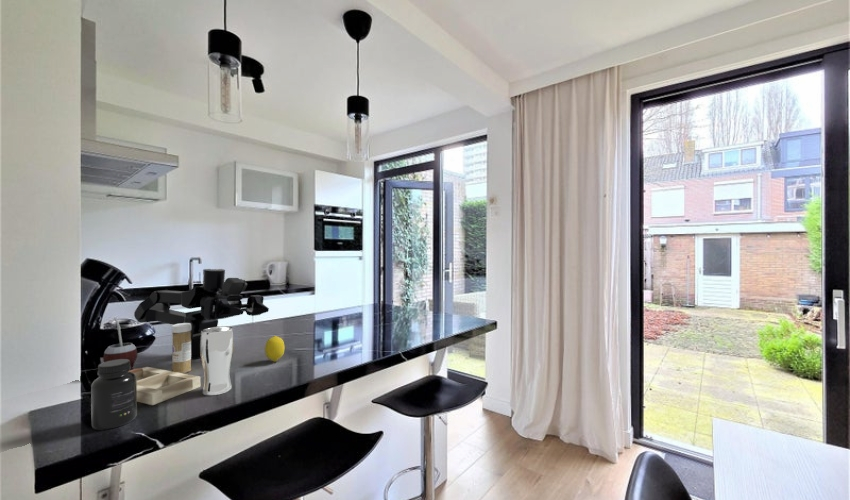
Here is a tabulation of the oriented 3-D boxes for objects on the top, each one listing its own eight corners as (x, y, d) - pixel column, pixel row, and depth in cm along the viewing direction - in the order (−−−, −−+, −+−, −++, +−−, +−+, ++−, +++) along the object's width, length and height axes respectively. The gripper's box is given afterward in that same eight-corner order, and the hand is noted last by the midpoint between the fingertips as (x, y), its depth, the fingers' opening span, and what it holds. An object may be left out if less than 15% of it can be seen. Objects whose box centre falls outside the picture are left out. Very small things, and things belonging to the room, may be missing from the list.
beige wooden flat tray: (96, 391, 84) (96, 380, 84) (146, 375, 95) (146, 365, 95) (152, 405, 77) (152, 392, 77) (200, 386, 87) (200, 375, 87)
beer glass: (209, 399, 80) (209, 334, 80) (194, 392, 84) (194, 330, 84) (239, 388, 86) (239, 328, 86) (224, 382, 90) (223, 324, 89)
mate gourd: (124, 378, 93) (123, 322, 93) (92, 379, 92) (92, 323, 92) (144, 368, 100) (144, 317, 100) (115, 369, 100) (115, 317, 100)
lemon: (288, 359, 109) (287, 333, 109) (278, 365, 103) (278, 338, 103) (271, 358, 109) (271, 333, 109) (261, 364, 104) (261, 337, 104)
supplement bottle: (83, 427, 68) (82, 365, 67) (124, 411, 74) (123, 355, 74) (104, 433, 65) (103, 370, 65) (144, 417, 71) (144, 359, 71)
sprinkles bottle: (168, 373, 96) (167, 325, 96) (185, 368, 101) (184, 321, 101) (178, 375, 95) (178, 326, 95) (195, 370, 99) (195, 323, 99)
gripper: (193, 276, 100) (232, 283, 95) (247, 278, 118) (283, 284, 112) (187, 315, 100) (226, 324, 94) (243, 310, 117) (278, 318, 111)
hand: (256, 311), depth 103 cm, fingers open, 9 cm apart
